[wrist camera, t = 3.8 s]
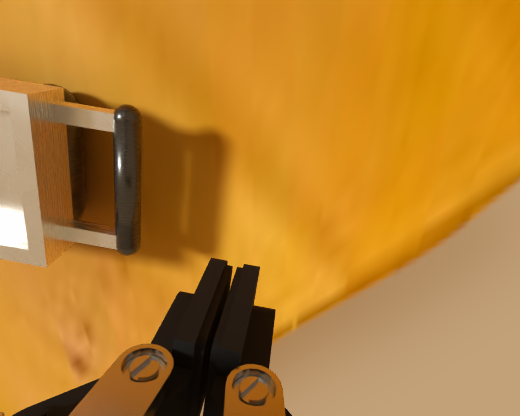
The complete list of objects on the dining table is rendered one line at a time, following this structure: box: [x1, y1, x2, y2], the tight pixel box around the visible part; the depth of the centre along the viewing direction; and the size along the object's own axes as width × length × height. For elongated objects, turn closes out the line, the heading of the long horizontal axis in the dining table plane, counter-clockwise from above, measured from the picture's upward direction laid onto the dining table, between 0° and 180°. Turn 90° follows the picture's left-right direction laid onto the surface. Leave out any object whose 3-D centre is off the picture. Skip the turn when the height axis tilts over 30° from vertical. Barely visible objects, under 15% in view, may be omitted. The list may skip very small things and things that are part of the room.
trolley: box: [0, 77, 142, 267], centre depth 18 cm, size 13×8×5 cm, turn 82°
